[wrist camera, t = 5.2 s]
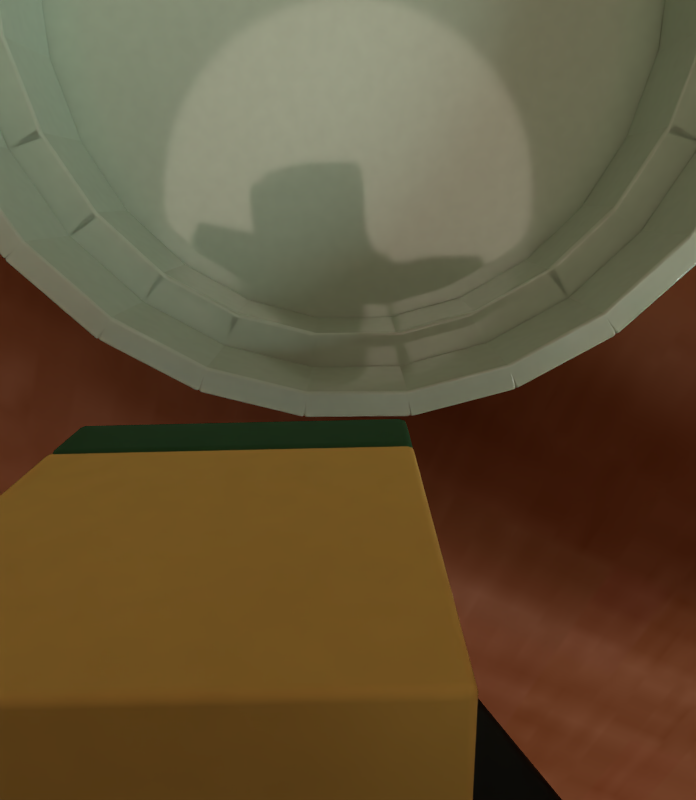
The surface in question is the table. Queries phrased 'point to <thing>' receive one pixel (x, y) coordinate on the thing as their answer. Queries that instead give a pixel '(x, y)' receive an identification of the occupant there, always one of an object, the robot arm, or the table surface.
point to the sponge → (230, 619)
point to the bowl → (349, 186)
